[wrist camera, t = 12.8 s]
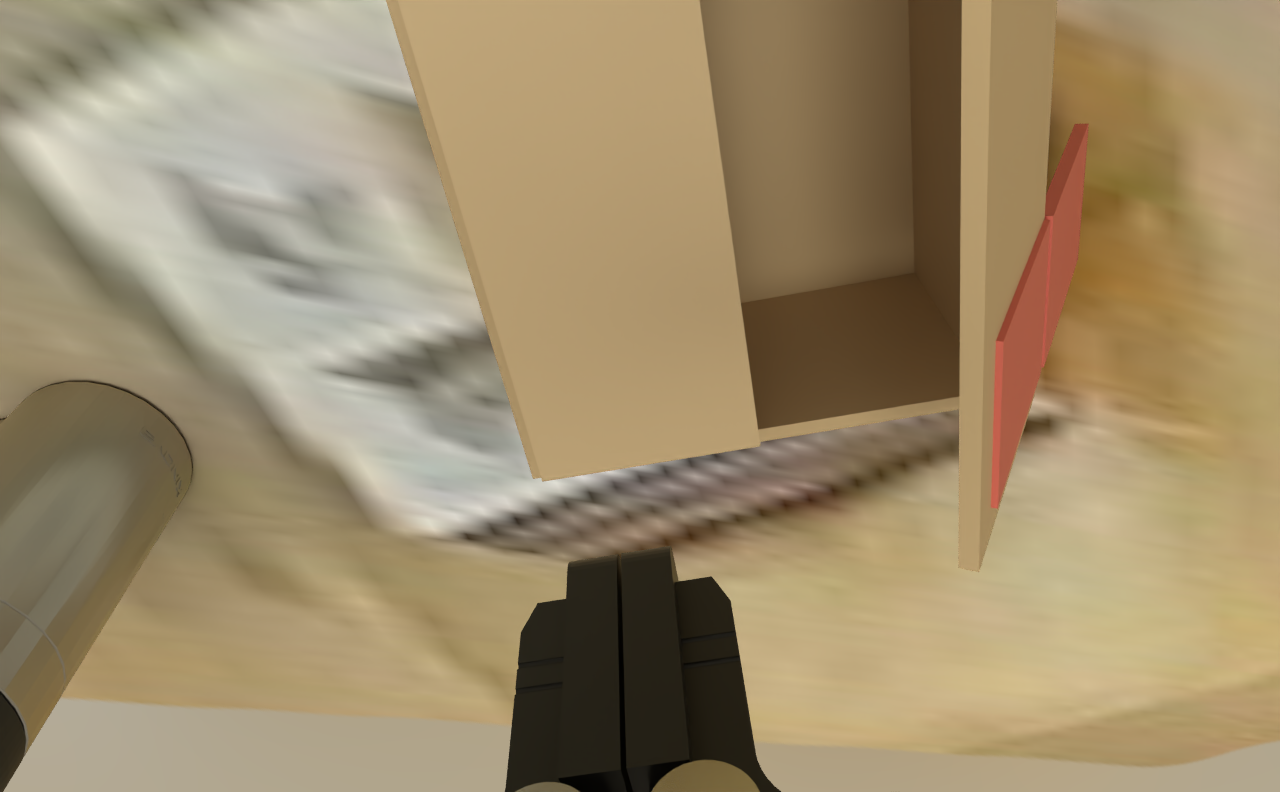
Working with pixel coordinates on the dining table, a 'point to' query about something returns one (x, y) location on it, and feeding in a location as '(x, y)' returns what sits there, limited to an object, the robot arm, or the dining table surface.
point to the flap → (1008, 243)
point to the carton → (700, 213)
